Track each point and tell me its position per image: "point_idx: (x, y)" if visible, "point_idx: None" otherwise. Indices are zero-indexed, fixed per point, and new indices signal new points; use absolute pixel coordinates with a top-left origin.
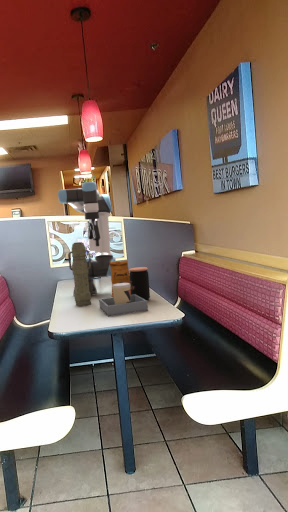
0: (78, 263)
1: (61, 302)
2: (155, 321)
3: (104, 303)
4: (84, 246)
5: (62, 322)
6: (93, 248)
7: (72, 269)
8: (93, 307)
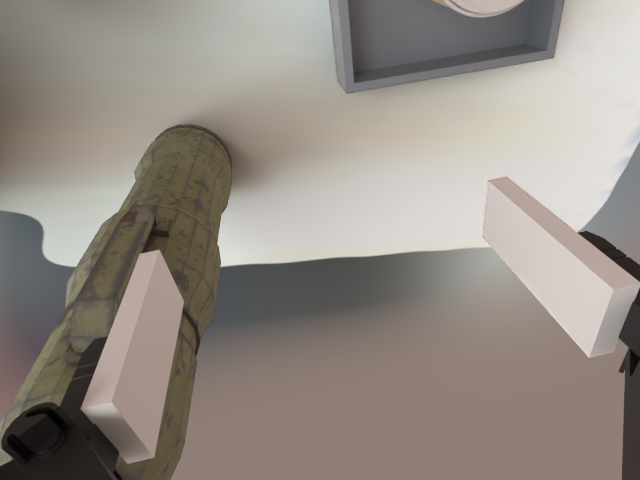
0: (208, 317)
1: None
2: None
3: (478, 69)
4: None
5: None
6: (159, 285)
7: None
8: (293, 113)
